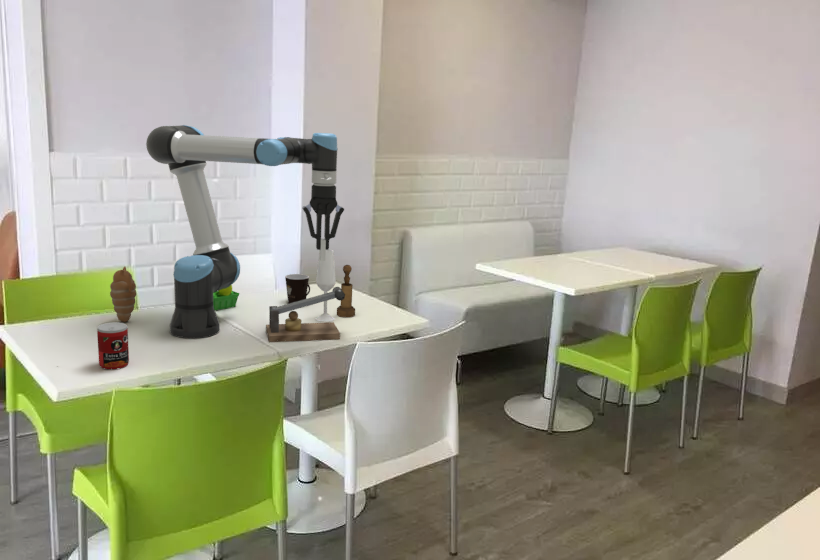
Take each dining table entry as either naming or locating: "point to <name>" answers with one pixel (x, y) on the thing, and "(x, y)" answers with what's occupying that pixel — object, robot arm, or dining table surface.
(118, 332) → the canned food
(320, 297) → the lever
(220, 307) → the fruit basket
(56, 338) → the dining table surface
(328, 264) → the champagne flute
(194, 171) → the robot arm
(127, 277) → the brown ridged tall ovoid
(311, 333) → the nutcracker base
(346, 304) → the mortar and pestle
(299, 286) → the coffee mug
